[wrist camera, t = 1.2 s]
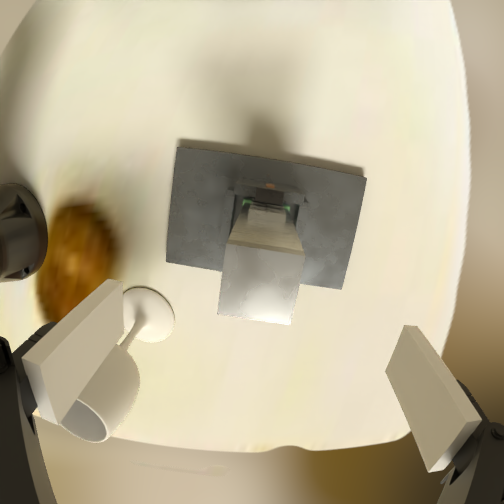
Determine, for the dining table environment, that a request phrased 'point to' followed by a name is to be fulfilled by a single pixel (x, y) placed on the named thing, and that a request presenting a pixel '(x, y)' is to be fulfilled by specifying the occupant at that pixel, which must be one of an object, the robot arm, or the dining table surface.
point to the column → (262, 264)
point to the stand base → (269, 191)
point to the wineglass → (119, 369)
